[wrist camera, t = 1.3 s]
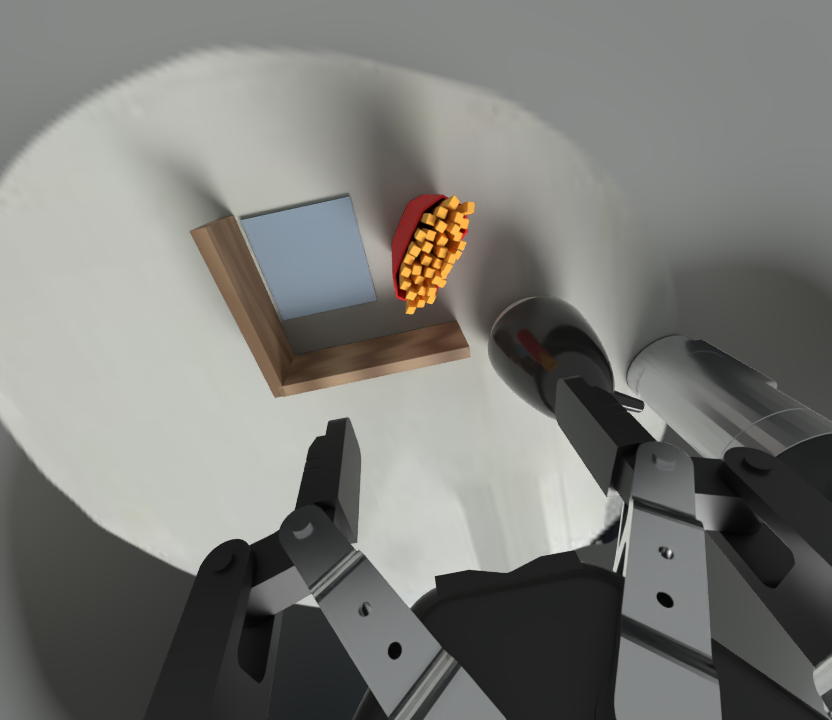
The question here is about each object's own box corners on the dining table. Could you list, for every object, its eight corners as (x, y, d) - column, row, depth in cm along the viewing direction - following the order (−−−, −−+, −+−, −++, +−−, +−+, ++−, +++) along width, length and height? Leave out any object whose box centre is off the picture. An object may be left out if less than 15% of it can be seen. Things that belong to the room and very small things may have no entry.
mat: (349, 196, 31) (349, 196, 31) (376, 299, 36) (376, 300, 36) (241, 219, 31) (240, 220, 31) (284, 319, 36) (283, 320, 36)
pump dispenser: (548, 368, 43) (623, 461, 30) (469, 360, 41) (512, 456, 28) (582, 290, 38) (688, 362, 25) (493, 278, 36) (558, 348, 23)
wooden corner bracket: (436, 170, 31) (448, 174, 25) (458, 330, 39) (470, 357, 34) (220, 217, 31) (189, 231, 26) (288, 366, 39) (275, 398, 34)
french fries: (417, 277, 35) (435, 327, 25) (382, 261, 34) (384, 308, 24) (456, 193, 32) (495, 213, 21) (418, 173, 31) (439, 184, 20)
